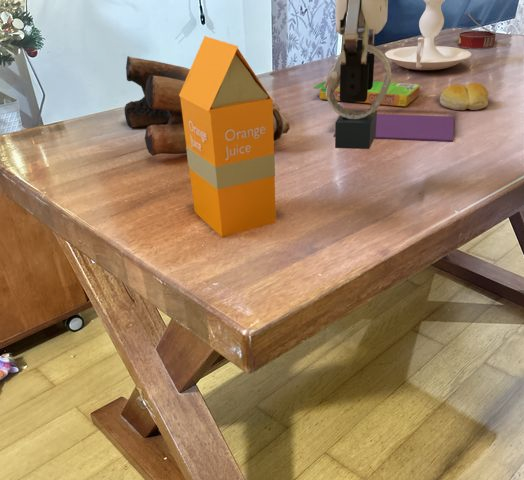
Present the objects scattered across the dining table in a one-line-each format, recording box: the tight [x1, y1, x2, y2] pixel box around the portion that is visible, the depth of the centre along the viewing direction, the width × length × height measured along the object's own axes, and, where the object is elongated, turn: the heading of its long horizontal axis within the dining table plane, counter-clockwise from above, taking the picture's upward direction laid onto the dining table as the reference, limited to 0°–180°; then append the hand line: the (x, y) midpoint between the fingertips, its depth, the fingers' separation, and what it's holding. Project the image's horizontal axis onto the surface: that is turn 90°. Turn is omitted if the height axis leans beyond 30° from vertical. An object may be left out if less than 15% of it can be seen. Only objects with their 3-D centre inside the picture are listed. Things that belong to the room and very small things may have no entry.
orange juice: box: [179, 36, 277, 238], centre depth 64 cm, size 8×9×20 cm
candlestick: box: [384, 0, 472, 71], centre depth 125 cm, size 21×25×28 cm
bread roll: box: [439, 82, 489, 111], centre depth 105 cm, size 8×9×4 cm
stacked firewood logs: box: [124, 55, 290, 157], centre depth 95 cm, size 13×31×25 cm
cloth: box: [333, 113, 455, 142], centre depth 97 cm, size 20×14×1 cm
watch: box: [323, 44, 392, 150], centre depth 67 cm, size 6×8×11 cm
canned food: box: [457, 11, 497, 50], centre depth 153 cm, size 11×10×10 cm
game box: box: [312, 80, 421, 107], centre depth 113 cm, size 3×10×20 cm
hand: (356, 93), depth 66 cm, fingers closed on watch, 4 cm apart
